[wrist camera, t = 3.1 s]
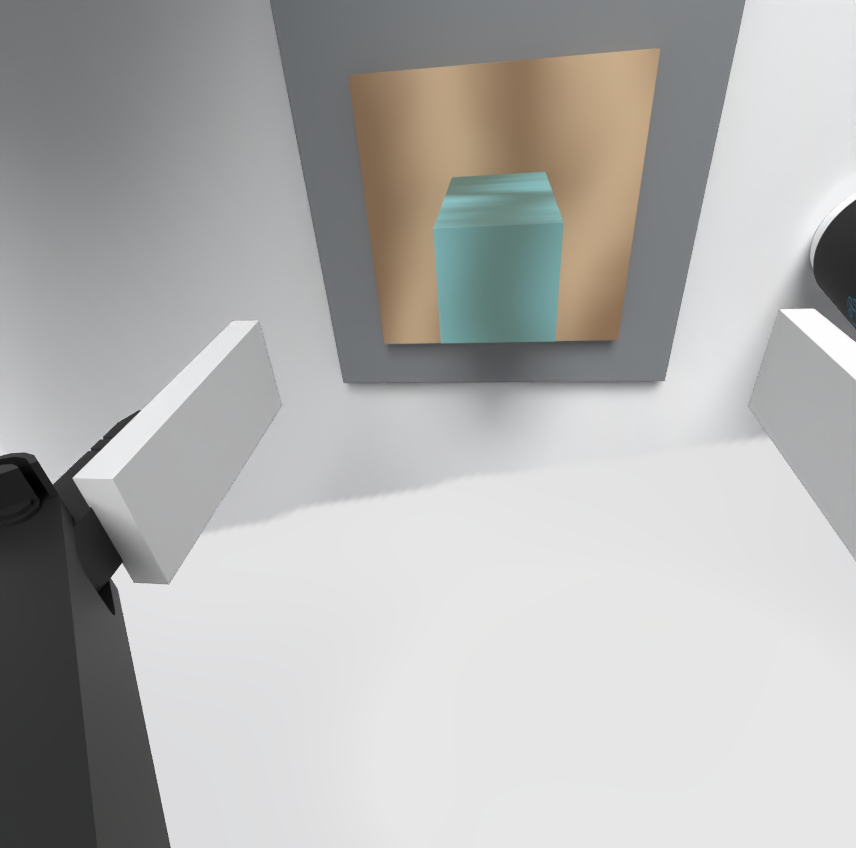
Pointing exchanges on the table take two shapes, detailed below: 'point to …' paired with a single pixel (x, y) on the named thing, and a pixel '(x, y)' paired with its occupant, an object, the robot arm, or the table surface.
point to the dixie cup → (837, 257)
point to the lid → (504, 195)
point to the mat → (497, 42)
